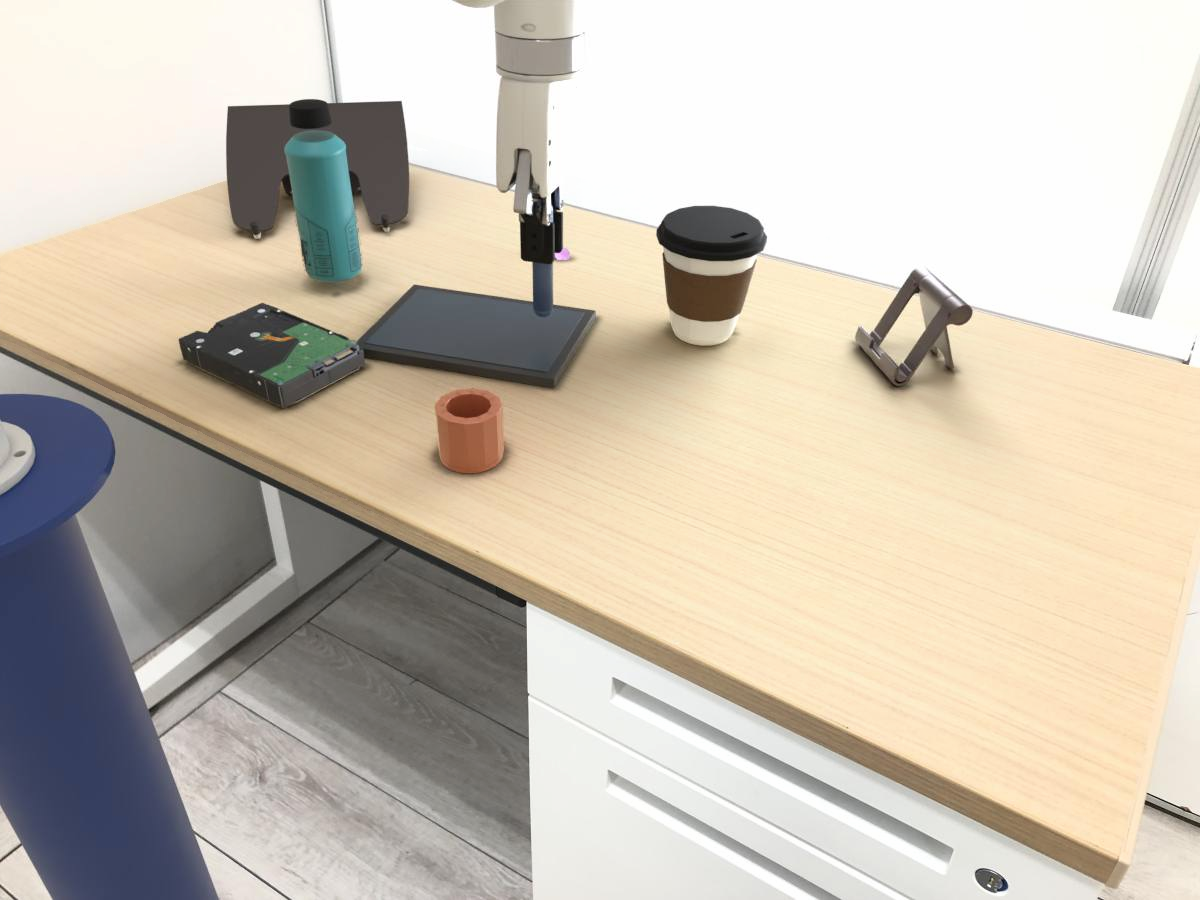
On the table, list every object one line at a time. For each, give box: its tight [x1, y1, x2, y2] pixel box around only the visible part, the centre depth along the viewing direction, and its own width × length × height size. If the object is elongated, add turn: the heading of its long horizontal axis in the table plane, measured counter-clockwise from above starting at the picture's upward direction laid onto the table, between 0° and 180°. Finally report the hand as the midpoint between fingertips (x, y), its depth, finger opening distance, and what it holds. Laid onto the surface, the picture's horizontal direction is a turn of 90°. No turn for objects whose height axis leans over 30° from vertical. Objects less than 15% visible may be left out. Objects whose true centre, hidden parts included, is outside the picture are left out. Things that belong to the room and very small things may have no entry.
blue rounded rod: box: [531, 199, 554, 317], centre depth 92 cm, size 2×2×12 cm
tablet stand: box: [854, 266, 974, 387], centre depth 94 cm, size 9×8×8 cm
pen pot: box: [434, 387, 505, 474], centre depth 80 cm, size 5×5×5 cm
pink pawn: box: [555, 246, 571, 261], centre depth 116 cm, size 3×2×2 cm
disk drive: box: [178, 302, 366, 409], centre depth 92 cm, size 10×3×15 cm
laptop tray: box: [225, 100, 410, 240], centre depth 126 cm, size 23×23×9 cm
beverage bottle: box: [284, 98, 363, 283], centre depth 103 cm, size 6×7×20 cm
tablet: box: [356, 284, 597, 389], centre depth 99 cm, size 15×21×1 cm
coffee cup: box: [655, 205, 768, 347], centre depth 98 cm, size 11×11×12 cm
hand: (542, 254), depth 92 cm, fingers closed on blue rounded rod, 2 cm apart
